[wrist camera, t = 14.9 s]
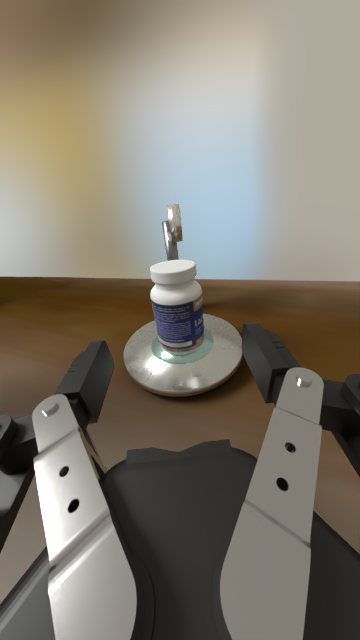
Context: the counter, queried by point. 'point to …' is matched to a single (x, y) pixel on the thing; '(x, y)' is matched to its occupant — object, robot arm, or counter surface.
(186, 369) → the dish
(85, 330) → the counter surface
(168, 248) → the dial stand
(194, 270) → the pill bottle
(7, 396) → the counter surface
